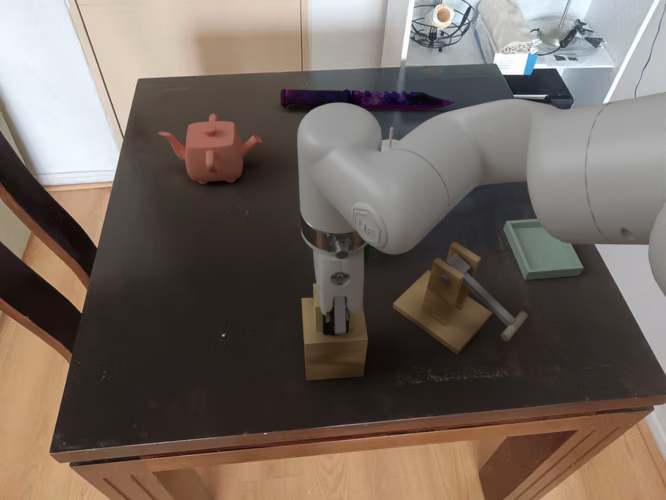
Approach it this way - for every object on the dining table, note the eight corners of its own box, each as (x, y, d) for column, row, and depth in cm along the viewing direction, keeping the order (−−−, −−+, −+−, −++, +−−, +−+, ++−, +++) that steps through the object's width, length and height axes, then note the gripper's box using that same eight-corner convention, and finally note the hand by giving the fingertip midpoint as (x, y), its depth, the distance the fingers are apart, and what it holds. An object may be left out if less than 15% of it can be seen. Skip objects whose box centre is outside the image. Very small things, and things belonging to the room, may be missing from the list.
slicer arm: (522, 320, 74) (532, 314, 72) (503, 343, 72) (512, 338, 70) (453, 254, 76) (461, 246, 74) (433, 274, 74) (440, 267, 72)
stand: (357, 333, 80) (361, 294, 72) (363, 376, 75) (367, 339, 68) (303, 337, 79) (301, 298, 72) (306, 380, 75) (304, 344, 67)
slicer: (490, 316, 82) (513, 264, 72) (457, 355, 78) (476, 305, 68) (427, 274, 87) (440, 219, 77) (392, 307, 83) (401, 254, 73)
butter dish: (579, 275, 87) (583, 267, 86) (524, 280, 87) (528, 272, 85) (553, 225, 95) (557, 217, 93) (503, 229, 94) (506, 220, 92)
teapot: (228, 139, 108) (221, 96, 101) (267, 168, 103) (262, 125, 95) (168, 172, 102) (156, 129, 94) (206, 205, 96) (195, 161, 89)
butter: (351, 305, 71) (353, 280, 67) (354, 328, 69) (356, 304, 64) (313, 308, 70) (313, 283, 66) (315, 331, 68) (315, 306, 64)
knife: (281, 113, 114) (279, 93, 111) (282, 103, 117) (281, 83, 113) (454, 117, 114) (458, 97, 111) (452, 107, 117) (456, 87, 113)
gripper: (385, 281, 50) (371, 373, 64) (362, 164, 61) (355, 264, 75) (305, 286, 50) (308, 378, 64) (296, 167, 60) (301, 268, 74)
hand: (333, 316), depth 69 cm, fingers open, 3 cm apart
